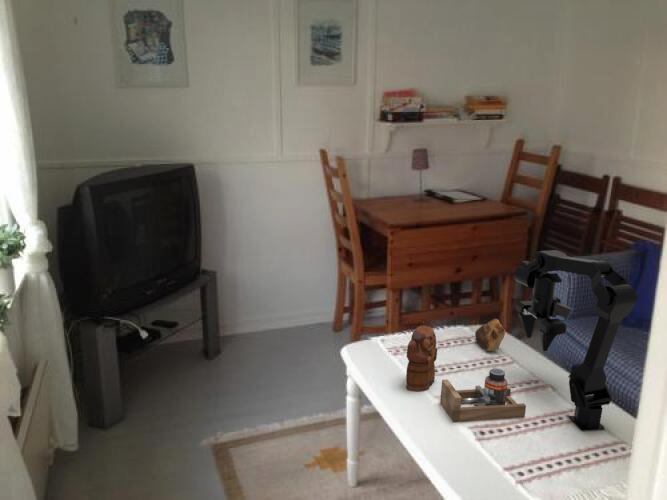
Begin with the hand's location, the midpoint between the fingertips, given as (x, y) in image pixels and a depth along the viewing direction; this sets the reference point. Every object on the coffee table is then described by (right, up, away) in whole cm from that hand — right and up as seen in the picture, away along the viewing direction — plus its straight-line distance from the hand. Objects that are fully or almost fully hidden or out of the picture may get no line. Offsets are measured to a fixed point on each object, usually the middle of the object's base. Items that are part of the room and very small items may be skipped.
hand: (536, 344), depth 173 cm
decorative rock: (-7, -6, +28) cm, 29 cm away
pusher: (-22, -16, -12) cm, 29 cm away
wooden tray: (-19, -16, -12) cm, 27 cm away
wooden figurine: (-34, -12, +2) cm, 36 cm away
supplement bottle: (-16, -16, -11) cm, 25 cm away
